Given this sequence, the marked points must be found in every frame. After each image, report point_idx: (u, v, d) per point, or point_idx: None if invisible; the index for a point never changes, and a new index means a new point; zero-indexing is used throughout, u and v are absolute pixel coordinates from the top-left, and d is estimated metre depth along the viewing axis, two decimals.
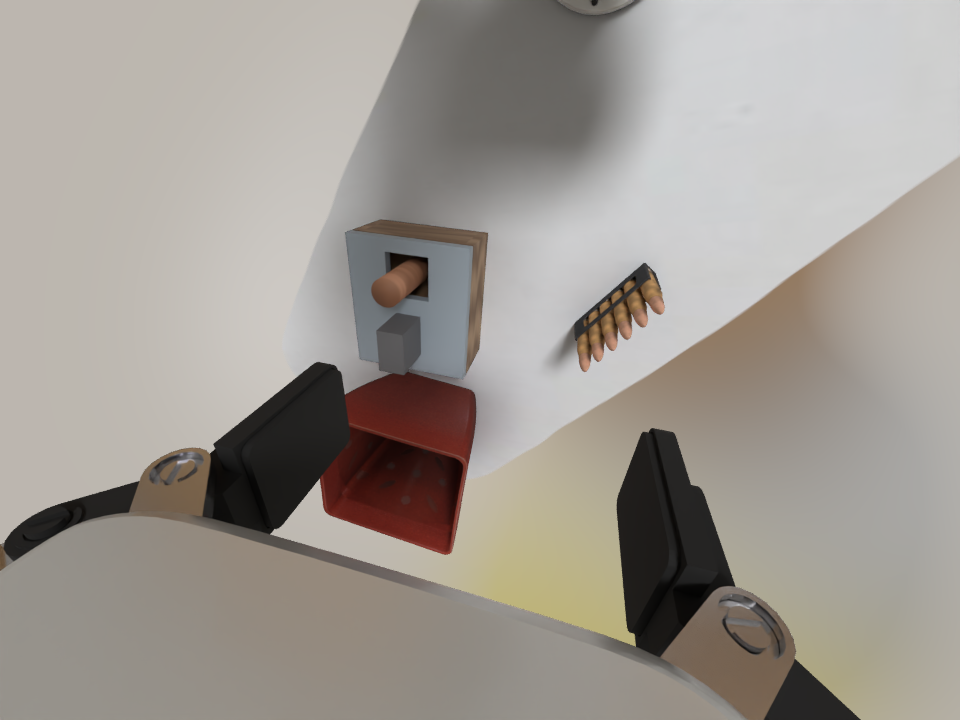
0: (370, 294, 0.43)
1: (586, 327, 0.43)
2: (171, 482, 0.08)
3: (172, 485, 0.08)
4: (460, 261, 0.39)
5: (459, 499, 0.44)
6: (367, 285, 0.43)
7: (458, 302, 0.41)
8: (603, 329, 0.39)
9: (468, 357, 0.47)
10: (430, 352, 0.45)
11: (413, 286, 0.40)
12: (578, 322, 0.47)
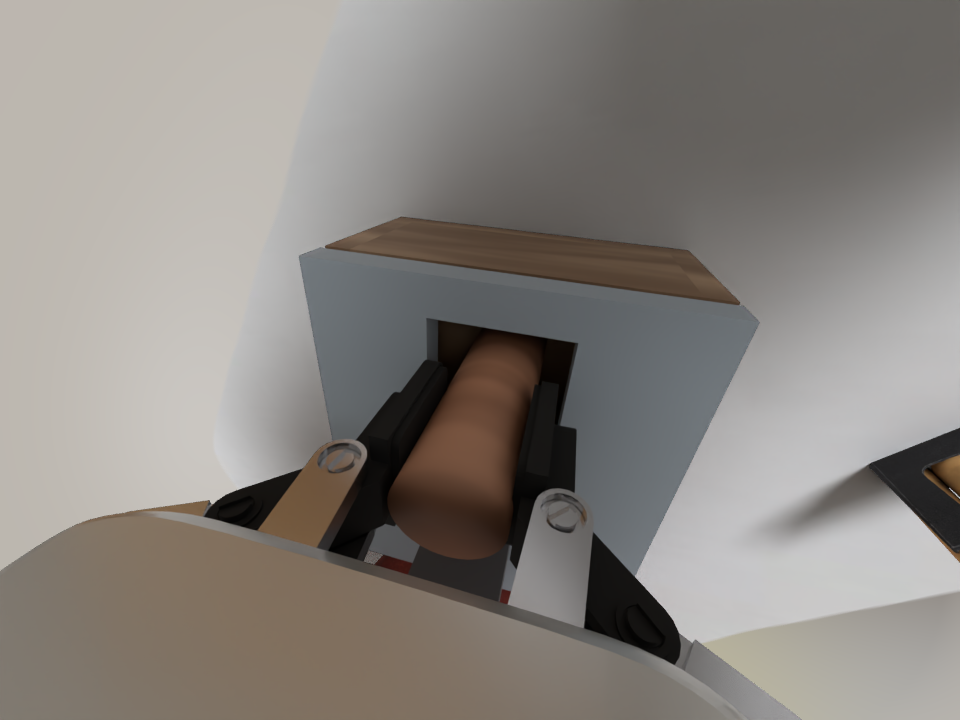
0: None
1: None
2: (331, 469, 0.08)
3: (328, 474, 0.08)
4: (697, 360, 0.11)
5: None
6: (369, 404, 0.15)
7: (653, 471, 0.13)
8: None
9: None
10: None
11: None
12: (890, 468, 0.19)
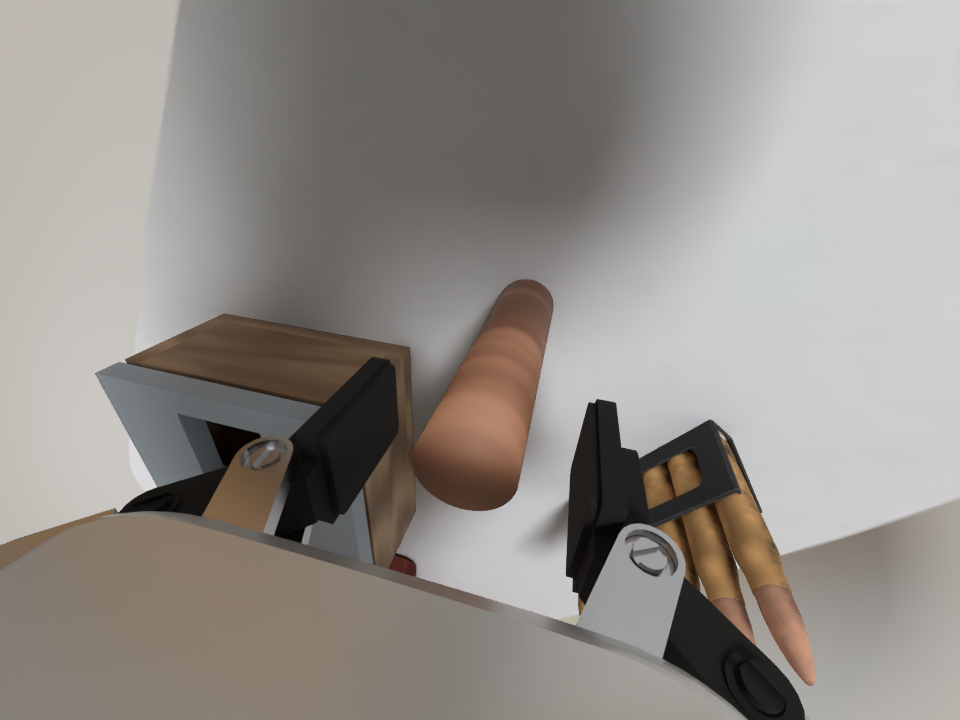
0: (177, 474, 0.22)
1: None
2: (256, 467, 0.08)
3: (256, 471, 0.08)
4: None
5: None
6: (167, 461, 0.22)
7: None
8: None
9: (380, 564, 0.26)
10: None
11: None
12: None
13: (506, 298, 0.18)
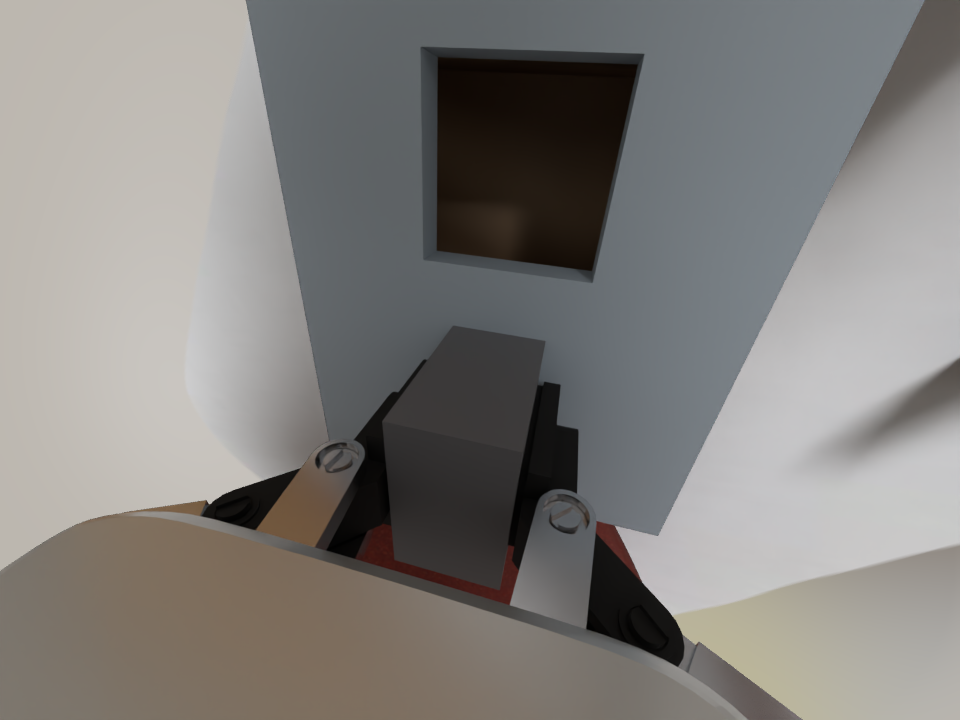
0: (359, 258, 0.12)
1: None
2: (328, 468, 0.08)
3: (326, 473, 0.08)
4: (827, 61, 0.07)
5: None
6: (346, 224, 0.11)
7: (737, 283, 0.09)
8: None
9: None
10: None
11: None
12: None
13: None
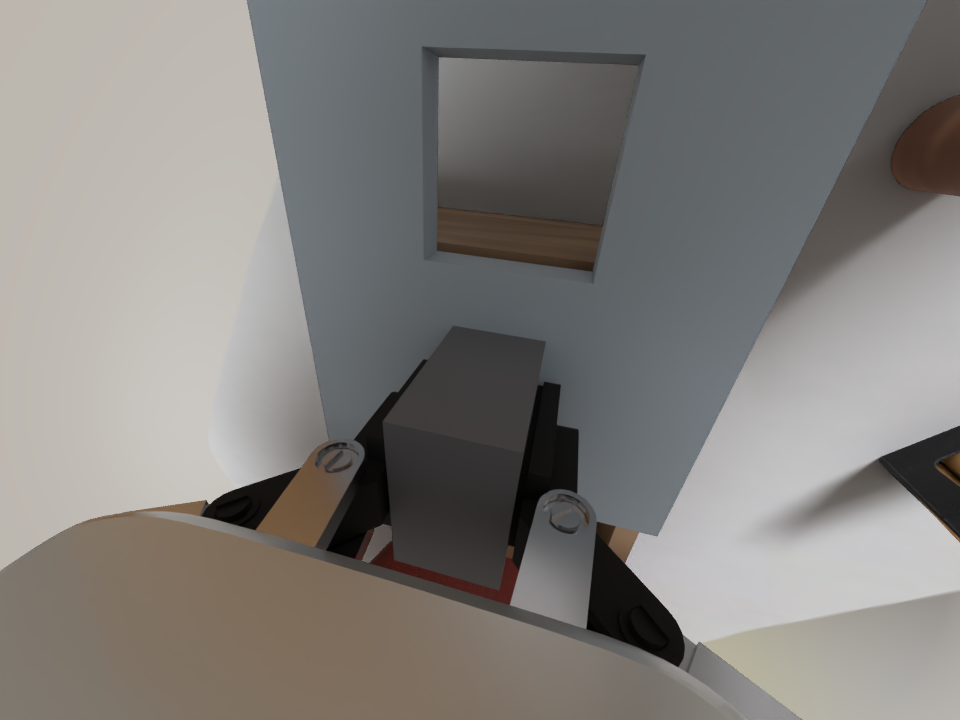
0: (359, 258, 0.12)
1: None
2: (328, 468, 0.08)
3: (326, 473, 0.08)
4: (829, 62, 0.07)
5: None
6: (347, 224, 0.11)
7: (737, 284, 0.09)
8: None
9: None
10: None
11: None
12: (900, 462, 0.18)
13: None
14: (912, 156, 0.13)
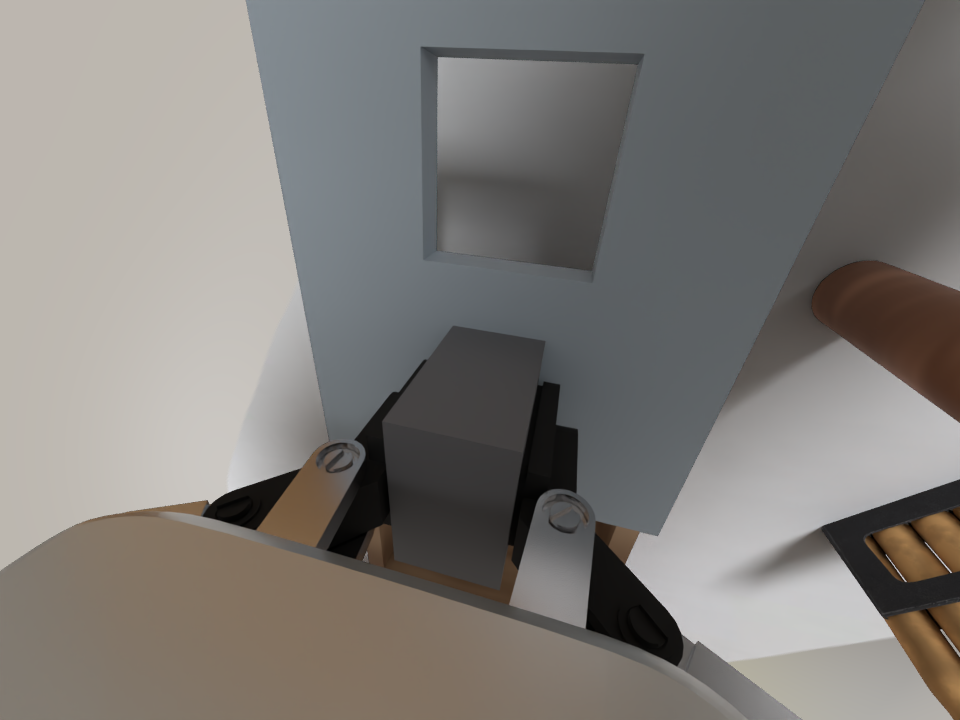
0: (359, 258, 0.12)
1: (917, 593, 0.17)
2: (329, 469, 0.08)
3: (326, 473, 0.08)
4: (828, 60, 0.07)
5: None
6: (346, 224, 0.11)
7: (737, 283, 0.09)
8: None
9: None
10: None
11: None
12: (838, 532, 0.21)
13: (898, 283, 0.13)
14: (823, 308, 0.16)
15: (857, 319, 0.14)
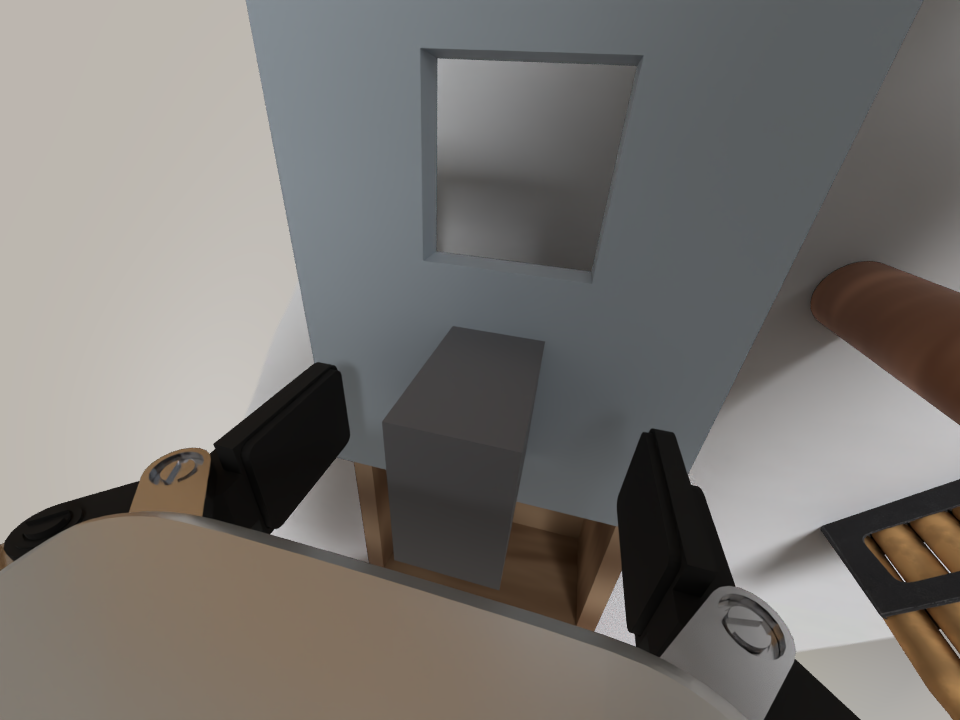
0: (359, 259, 0.12)
1: (916, 593, 0.17)
2: (171, 482, 0.08)
3: (172, 485, 0.08)
4: (826, 62, 0.07)
5: None
6: (346, 225, 0.11)
7: (736, 283, 0.10)
8: None
9: None
10: (559, 455, 0.14)
11: None
12: (837, 532, 0.21)
13: (896, 283, 0.13)
14: (822, 309, 0.16)
15: (855, 320, 0.14)
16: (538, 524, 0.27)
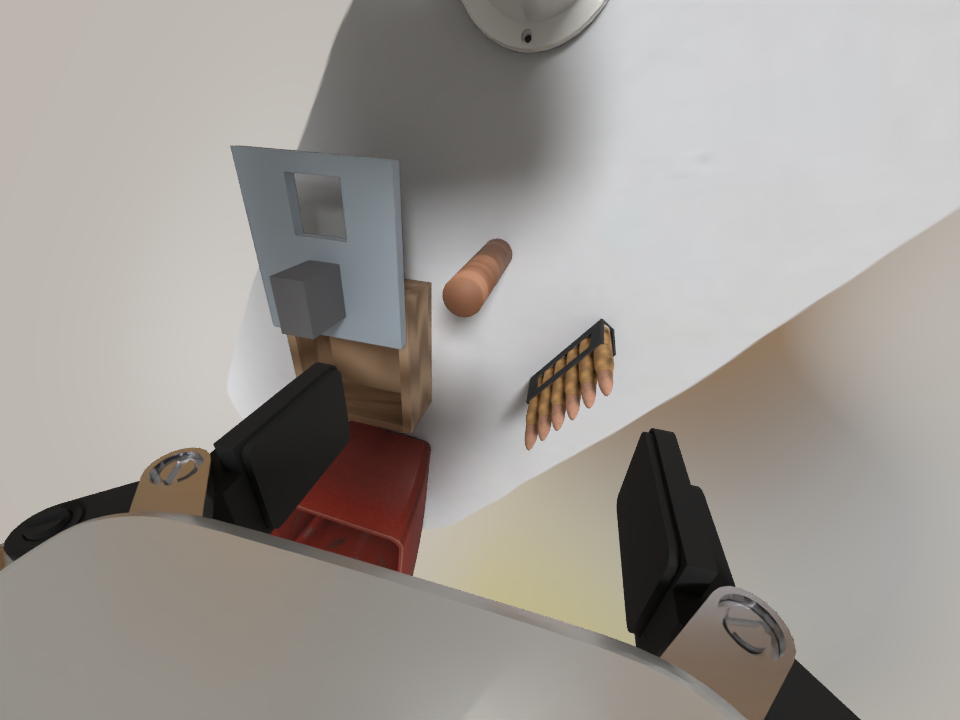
0: (274, 235, 0.33)
1: (538, 389, 0.39)
2: (171, 482, 0.08)
3: (172, 485, 0.08)
4: (381, 181, 0.29)
5: None
6: (268, 223, 0.32)
7: (384, 241, 0.31)
8: (551, 398, 0.35)
9: (412, 417, 0.42)
10: (357, 313, 0.35)
11: (492, 287, 0.30)
12: (533, 378, 0.42)
13: (484, 246, 0.34)
14: None
15: None
16: (400, 390, 0.48)
